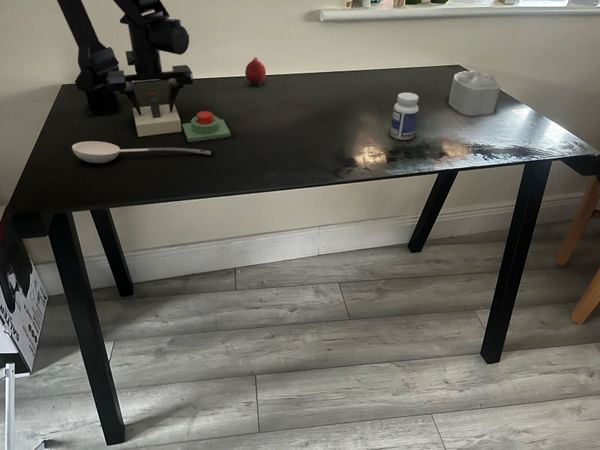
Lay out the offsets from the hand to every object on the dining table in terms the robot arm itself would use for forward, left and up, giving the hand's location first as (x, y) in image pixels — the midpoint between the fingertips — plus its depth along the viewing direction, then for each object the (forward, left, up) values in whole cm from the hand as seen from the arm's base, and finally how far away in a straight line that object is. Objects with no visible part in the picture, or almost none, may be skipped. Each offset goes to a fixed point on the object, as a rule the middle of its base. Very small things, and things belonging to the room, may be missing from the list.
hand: (155, 113), depth 117 cm
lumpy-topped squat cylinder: (+82, -11, -3) cm, 83 cm away
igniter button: (+10, -7, -1) cm, 13 cm away
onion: (+30, +19, -3) cm, 36 cm away
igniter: (+11, -7, -3) cm, 13 cm away
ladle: (-4, -16, -3) cm, 17 cm away
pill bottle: (+55, -22, -3) cm, 59 cm away
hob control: (0, 0, -3) cm, 3 cm away
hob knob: (0, 0, 0) cm, 0 cm away
